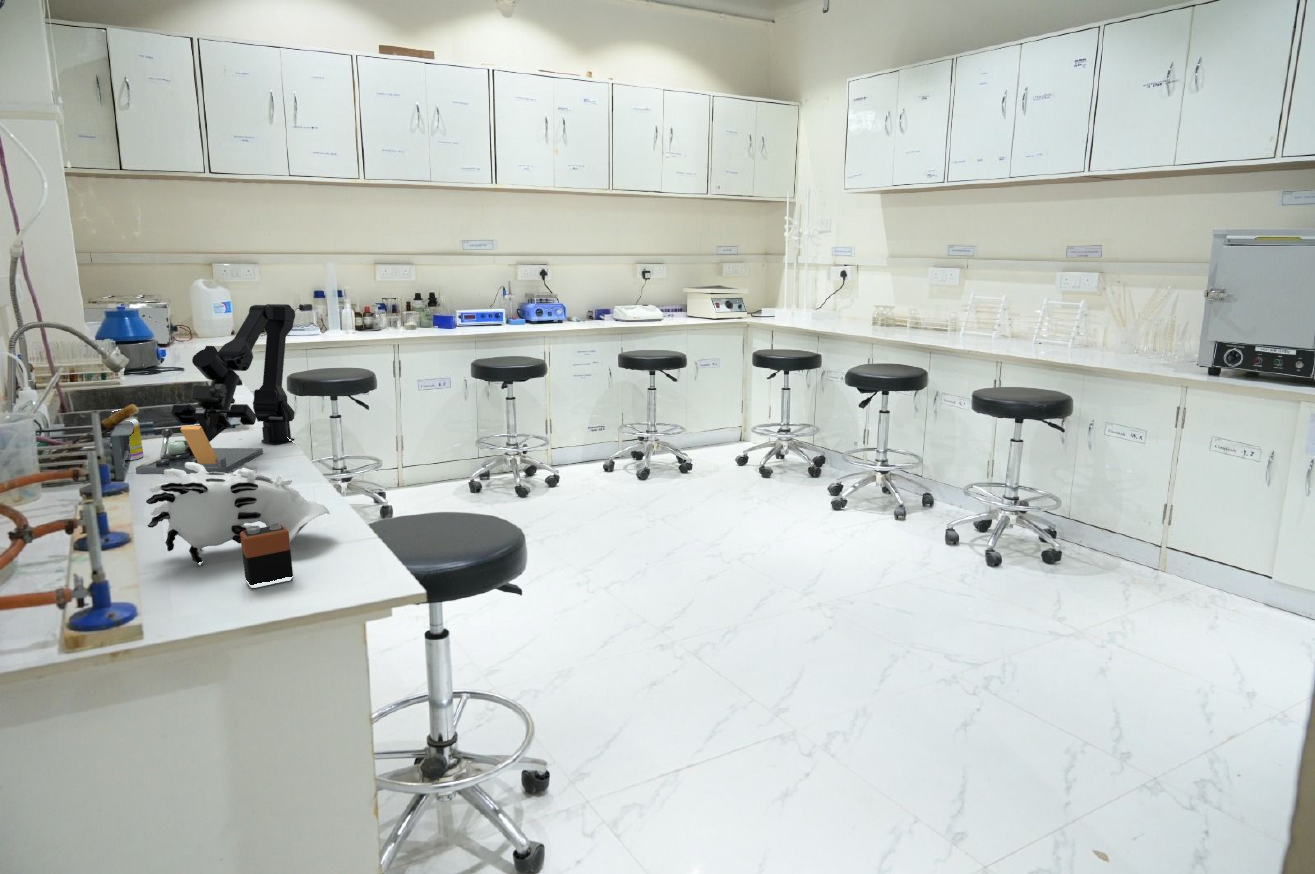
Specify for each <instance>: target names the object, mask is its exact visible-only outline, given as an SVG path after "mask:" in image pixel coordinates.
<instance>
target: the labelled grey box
mask: <svg viewBox="0 0 1315 874" xmlns="http://www.w3.org/2000/svg"><path fill="white" fill-rule="evenodd" d="M177 441H178V440H175V441H174V442H177ZM180 441H182V442H184V444H185V446H189V445H188V443H187V441H186V439H185V440H184V439H183V440H182V439H181V440H180Z"/></svg>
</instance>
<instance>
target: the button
mask: <svg viewBox="0 0 1315 874" xmlns="http://www.w3.org/2000/svg"><path fill="white" fill-rule="evenodd" d="M176 441H177V442H175V441H171V442H168V447H167V453H168V454H182V453H185V444H184V442H182V441H181V440H176Z"/></svg>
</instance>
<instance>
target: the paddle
mask: <svg viewBox="0 0 1315 874" xmlns="http://www.w3.org/2000/svg"><path fill="white" fill-rule="evenodd" d="M180 432H181V434H182V435H183V437H184V439H185V440H186V441H187V443H188V445H189V447H190V448H191V450H192V452H193V454H194V456H195V458H196V460H197V464H200V465H203V466H204V467H218V463H217V460H218V458H217V456H216V454H215V452H214V451H213V449H212V448H213V447H212V445H211V443H210V442H209V441H208V439H207V437H206V435H205V433H204V431H203V429H202V427H201V426H200V425H182V426H181V428H180Z"/></svg>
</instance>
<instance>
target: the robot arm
mask: <svg viewBox="0 0 1315 874" xmlns="http://www.w3.org/2000/svg"><path fill="white" fill-rule="evenodd" d="M295 318H296V312H295V309H293V308H292V306H291V304H286V303H284V304H283V303H281V304H280V303H274V304H272V303H267V304H253V305H251V306H250V307H249V309H248V314H247V315H246V317H245V319H244V321H243V323H242V325H241V326H240V328H239V330H238V331H237V333H236V334H235V336H234V338H233V339H231V340H230V341H228V342H226V343H225V344H223V345H222V346H221V348H220V349H219V350H218V349H217V348H216V347H215V345H206V346H205V348H204V349H201V350H199V351H198V352H196V354H195V355H193V357H192V361H191V362H192V365H193V366H195V368H196V369H197V370H198V371H199V372H200V373H201V374H202V375H203V376H204V377H205V378H206V379H207V380H209V381H211V383H210V385H193V386H192V392H191V400H192V401H193V400H195V401H197V405H198V406H199V407H195V408H194V407H193V406H192V405H191V404H190V403H175V404H173V405H172V407H171V409H170V412H169V413H170V414H171V415H172V416H173V418H175V420H176V421H177V422H178V423H179V424H180V425H182V426H195V424H197V423H198V424H199V426H201V427H202V429H203V431H204V433H205V435H206V437H207V439H208V441H209V443H210V442H211V441H213V440H214V438H216V437H217V436H218V435H220V434H221V433H222V432H224V431H225V430H226V429H228V428H231V427H232V424H231V421H233V419H234V418H239V422H240V423H241V424H242V426H253V425H255V423H256V421H257V422H258V423H260V422H262V426H263V427H262V428H261V430H262V439H261V440H260V441H261V443H263V444H270V445H275V446H276V445H281V444H283V443H284V444H285V443H288V442H292V441H293V442H294V441H295V438H293V437H292V434H291V424H290V422H292V421H293V420H294V419H295V414H296V413H295V411H294V409H293V408H292V406H291V405H290V404H289V403H288V395H287V393H286V391H285V390H284V388H283V377H284V365H285V353H286V350H285V349H286V341H287V339H286V338H287V336H288V334H289V333H290V332H291V330H293V327H294V323H295ZM263 331H265V333H266V341H265V354H264V364H263V365H264V366H263V378H262V385H261V386H260V387H259V388H258V389H255V390H254V392H253V401H252V408H251V407H250V406H249V405H248V404H247V403H243V404H242V403H241V404H240V403H239V404H238V403H236V398H234V395H235V392H236V389H237V386H243V381H242V379H241V378H240V375H239V374H238V373H236V372H246V371H248V370H249V369H250V367H251V365H252V361H253V359H254V354H253V349H254V346H255V345H256V343H257V341H258V339H259V337H260V336H261V334H262V332H263ZM231 404H232V405H231ZM252 409H253V410H252ZM287 437H288V438H289V439H291V441H289V439H288V438H287ZM287 441H288V442H287Z"/></svg>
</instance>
